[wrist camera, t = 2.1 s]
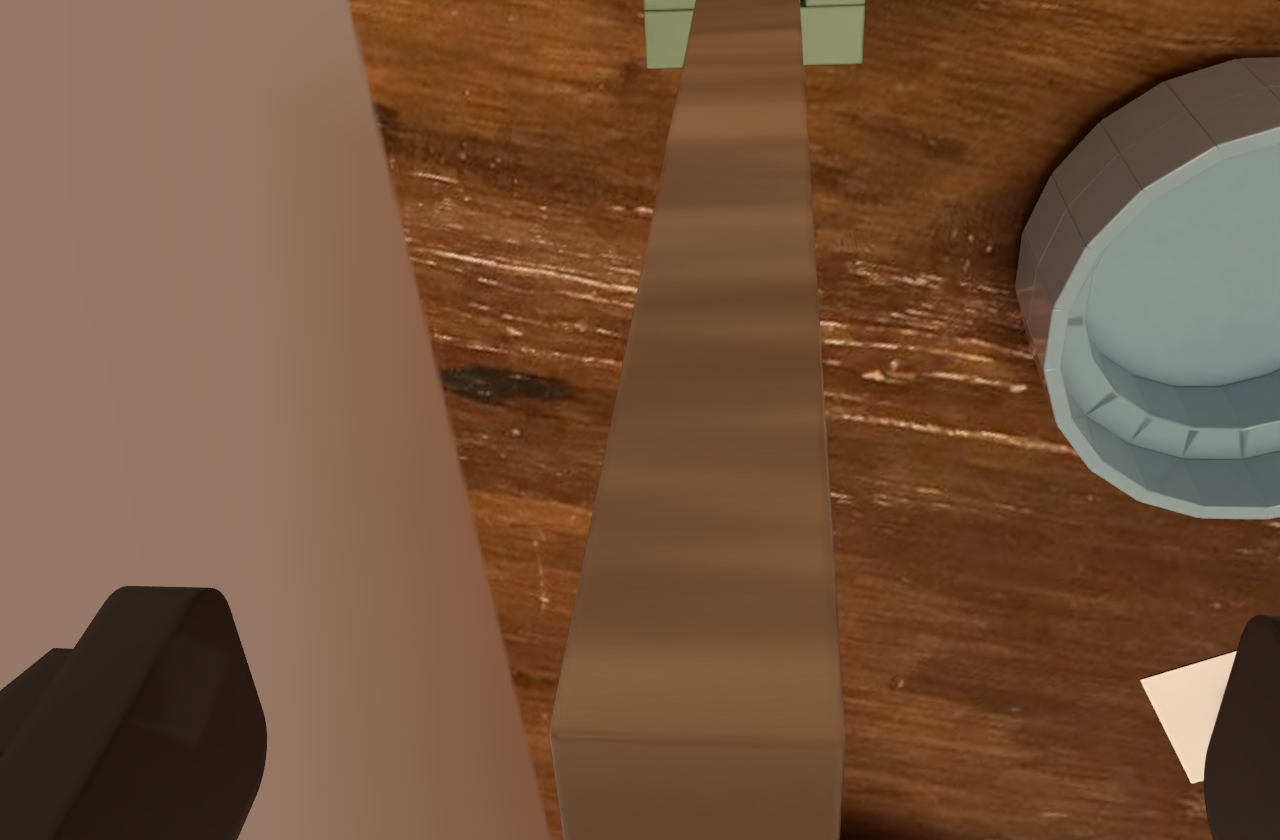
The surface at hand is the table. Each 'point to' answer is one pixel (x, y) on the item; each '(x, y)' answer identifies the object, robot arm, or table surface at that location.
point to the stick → (715, 487)
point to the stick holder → (825, 19)
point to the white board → (1190, 707)
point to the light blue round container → (1167, 293)
